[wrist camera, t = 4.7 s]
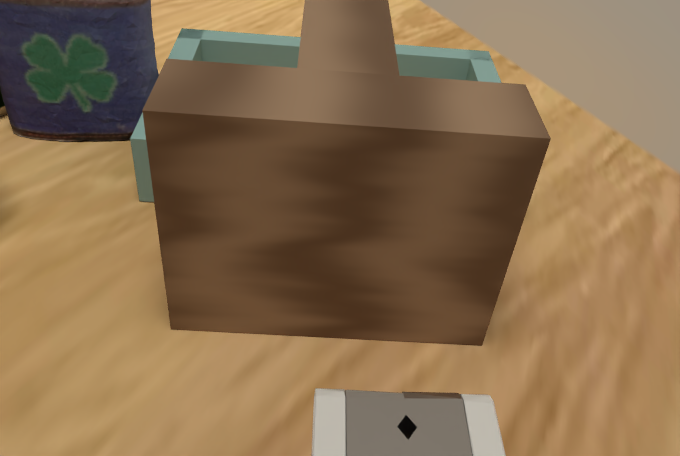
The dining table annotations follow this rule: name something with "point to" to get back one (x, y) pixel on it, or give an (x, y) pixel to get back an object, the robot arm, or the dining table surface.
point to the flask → (76, 67)
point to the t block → (338, 189)
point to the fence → (286, 55)
